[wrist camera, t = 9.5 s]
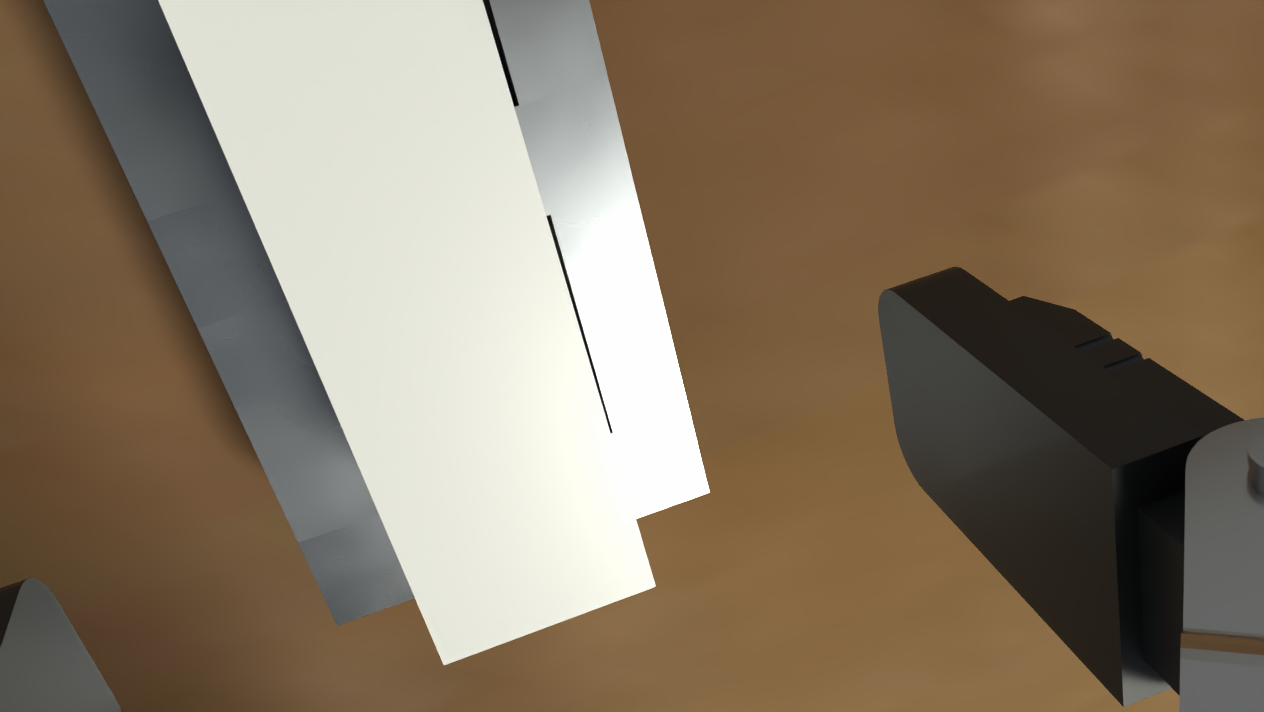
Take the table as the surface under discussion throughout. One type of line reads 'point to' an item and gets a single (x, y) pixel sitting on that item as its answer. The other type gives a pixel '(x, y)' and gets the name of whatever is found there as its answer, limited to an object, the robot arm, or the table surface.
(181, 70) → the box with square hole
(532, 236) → the light grey box
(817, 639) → the table surface
